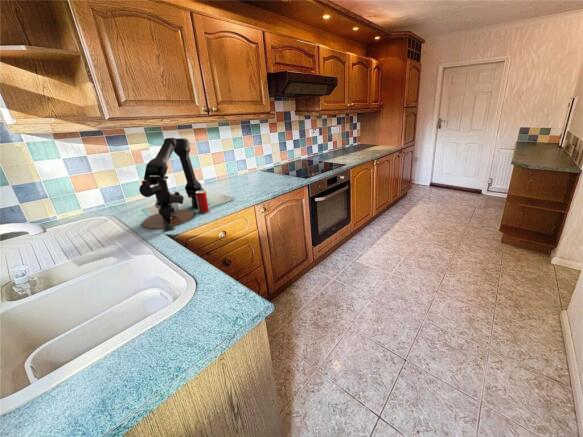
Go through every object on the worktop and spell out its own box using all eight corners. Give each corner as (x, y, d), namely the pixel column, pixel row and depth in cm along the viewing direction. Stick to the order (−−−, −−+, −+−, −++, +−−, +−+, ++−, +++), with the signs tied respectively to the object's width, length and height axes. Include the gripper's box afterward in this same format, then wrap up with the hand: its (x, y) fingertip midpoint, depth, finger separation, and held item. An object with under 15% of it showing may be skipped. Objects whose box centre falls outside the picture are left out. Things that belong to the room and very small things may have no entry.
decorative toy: (157, 208, 143) (142, 215, 124) (166, 192, 142) (151, 197, 123) (177, 218, 146) (165, 226, 126) (185, 202, 145) (174, 208, 125)
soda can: (211, 211, 144) (207, 190, 139) (202, 214, 140) (198, 193, 136) (205, 209, 147) (202, 189, 143) (197, 212, 144) (192, 191, 139)
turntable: (145, 215, 143) (142, 202, 140) (193, 207, 152) (190, 195, 149) (139, 236, 118) (134, 221, 115) (196, 225, 127) (193, 211, 124)
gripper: (183, 192, 113) (189, 225, 119) (177, 183, 128) (183, 213, 134) (155, 196, 108) (163, 230, 114) (153, 187, 123) (160, 217, 129)
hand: (168, 222), depth 123 cm, fingers closed on turntable, 3 cm apart
